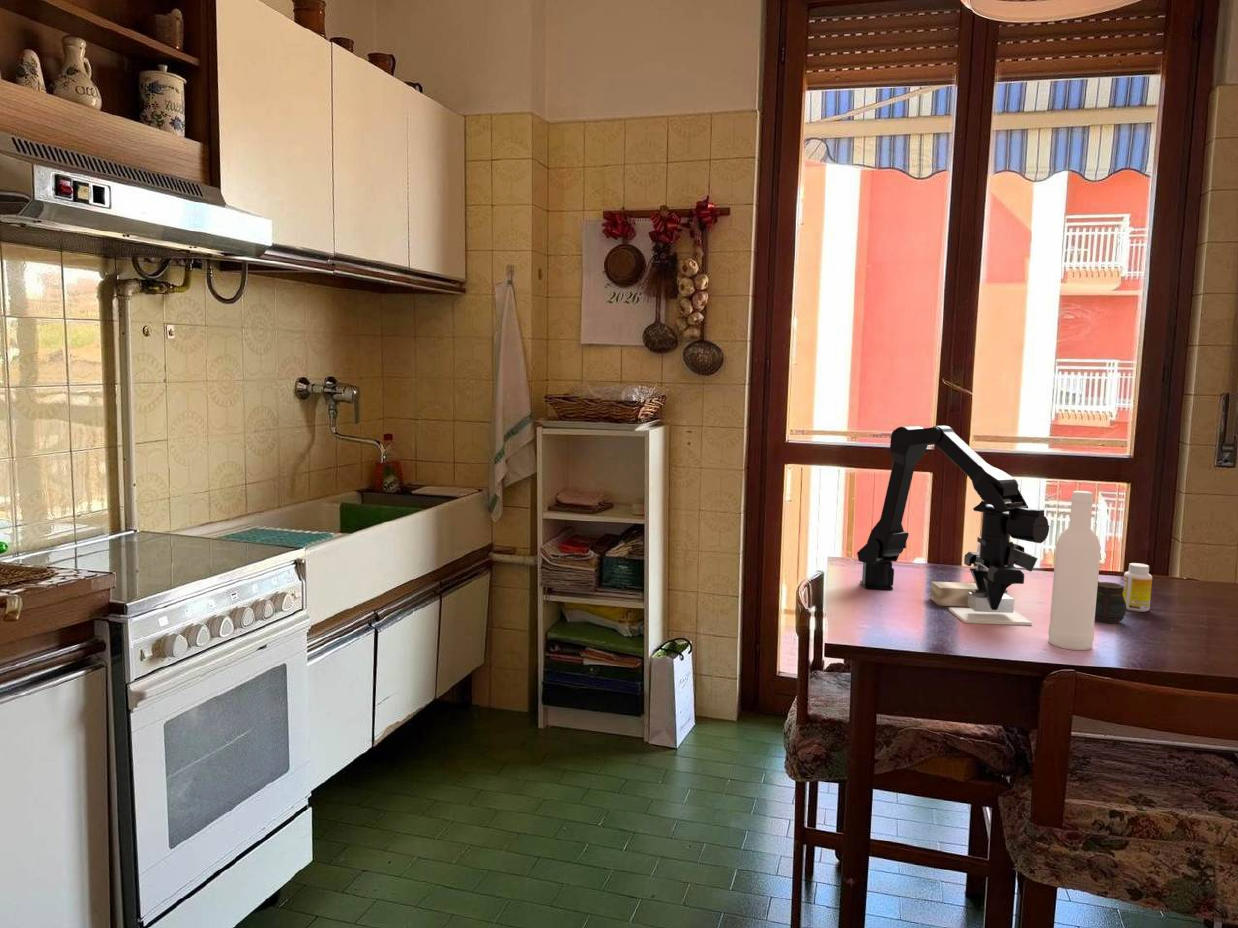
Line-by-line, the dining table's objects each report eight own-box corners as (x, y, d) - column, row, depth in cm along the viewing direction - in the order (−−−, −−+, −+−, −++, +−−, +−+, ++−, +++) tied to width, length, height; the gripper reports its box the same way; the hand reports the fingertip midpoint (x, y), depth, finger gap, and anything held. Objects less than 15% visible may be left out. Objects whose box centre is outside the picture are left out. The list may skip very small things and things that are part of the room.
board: (964, 622, 193) (964, 619, 193) (948, 610, 203) (949, 607, 203) (1032, 625, 193) (1032, 622, 193) (1013, 612, 203) (1013, 609, 202)
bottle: (1102, 650, 177) (1116, 494, 173) (1066, 651, 175) (1079, 494, 172) (1073, 637, 184) (1086, 489, 181) (1038, 639, 183) (1050, 489, 179)
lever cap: (974, 611, 195) (976, 593, 195) (967, 605, 200) (968, 588, 200) (1013, 612, 195) (1014, 595, 195) (1004, 607, 200) (1006, 589, 199)
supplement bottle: (1155, 611, 207) (1159, 566, 206) (1136, 613, 205) (1140, 568, 204) (1133, 605, 212) (1137, 561, 211) (1115, 606, 210) (1119, 562, 209)
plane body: (938, 605, 207) (940, 579, 206) (930, 598, 213) (932, 572, 212) (1006, 607, 207) (1008, 581, 206) (996, 600, 212) (998, 575, 212)
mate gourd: (1125, 627, 193) (1128, 580, 192) (1084, 622, 197) (1087, 576, 196) (1126, 619, 199) (1130, 574, 198) (1087, 614, 203) (1090, 569, 202)
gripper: (1053, 544, 186) (1046, 620, 188) (1016, 528, 205) (1011, 596, 207) (997, 542, 187) (991, 618, 188) (965, 526, 205) (960, 595, 207)
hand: (990, 606), depth 198 cm, fingers closed on lever cap, 5 cm apart
